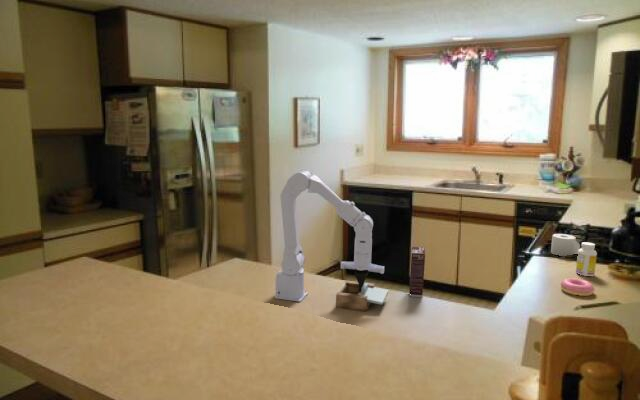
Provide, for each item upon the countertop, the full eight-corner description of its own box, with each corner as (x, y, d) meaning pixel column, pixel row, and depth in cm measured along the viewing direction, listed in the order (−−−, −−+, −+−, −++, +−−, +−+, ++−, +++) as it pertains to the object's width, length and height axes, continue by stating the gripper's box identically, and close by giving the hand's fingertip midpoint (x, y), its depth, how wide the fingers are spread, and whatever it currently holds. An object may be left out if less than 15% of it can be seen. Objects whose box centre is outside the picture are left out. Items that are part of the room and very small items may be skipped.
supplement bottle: (594, 273, 195) (598, 243, 193) (593, 278, 190) (597, 246, 187) (576, 270, 199) (579, 240, 197) (574, 275, 193) (578, 244, 191)
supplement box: (423, 298, 168) (425, 254, 165) (408, 296, 169) (411, 253, 166) (422, 289, 176) (425, 247, 173) (409, 287, 177) (411, 246, 174)
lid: (356, 299, 158) (357, 290, 157) (364, 287, 169) (364, 279, 168) (382, 304, 155) (383, 296, 155) (388, 292, 166) (389, 284, 165)
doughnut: (600, 294, 174) (601, 283, 173) (582, 300, 169) (583, 288, 168) (571, 284, 183) (572, 274, 183) (553, 289, 178) (554, 279, 177)
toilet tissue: (585, 256, 219) (587, 237, 217) (560, 258, 215) (562, 239, 214) (570, 250, 227) (572, 232, 226) (546, 252, 224) (548, 234, 222)
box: (335, 307, 159) (336, 294, 158) (346, 292, 172) (347, 280, 172) (365, 311, 156) (366, 298, 155) (374, 295, 169) (374, 283, 168)
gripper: (338, 252, 159) (337, 292, 161) (382, 257, 154) (380, 298, 157) (344, 247, 165) (343, 284, 168) (386, 251, 161) (384, 290, 164)
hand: (361, 290), depth 163 cm, fingers closed, pressing on lid
